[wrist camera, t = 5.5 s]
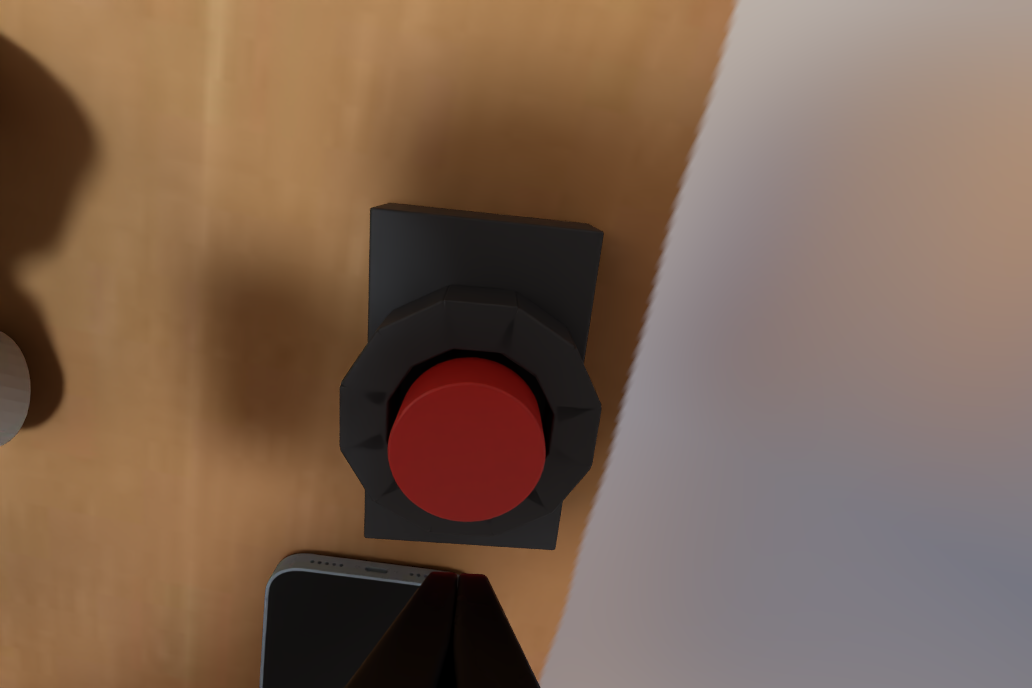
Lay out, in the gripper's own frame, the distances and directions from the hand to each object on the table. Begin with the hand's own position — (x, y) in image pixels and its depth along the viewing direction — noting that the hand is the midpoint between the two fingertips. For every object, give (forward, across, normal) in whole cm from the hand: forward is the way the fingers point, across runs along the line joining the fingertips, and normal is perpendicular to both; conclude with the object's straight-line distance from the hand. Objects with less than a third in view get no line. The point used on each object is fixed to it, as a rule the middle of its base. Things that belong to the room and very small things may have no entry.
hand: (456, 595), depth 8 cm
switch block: (+10, 0, 0) cm, 10 cm away
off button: (+6, 0, 0) cm, 6 cm away
